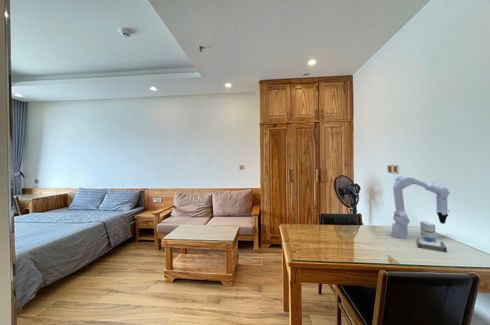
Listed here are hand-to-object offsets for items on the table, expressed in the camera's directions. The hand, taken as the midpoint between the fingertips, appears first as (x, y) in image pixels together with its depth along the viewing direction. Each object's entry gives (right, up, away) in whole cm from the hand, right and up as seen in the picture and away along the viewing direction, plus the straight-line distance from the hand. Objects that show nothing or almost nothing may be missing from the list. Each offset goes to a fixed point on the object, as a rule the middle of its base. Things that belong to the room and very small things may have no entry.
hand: (442, 223), depth 153 cm
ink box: (-13, -11, -3) cm, 17 cm away
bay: (-21, -11, -14) cm, 28 cm away
